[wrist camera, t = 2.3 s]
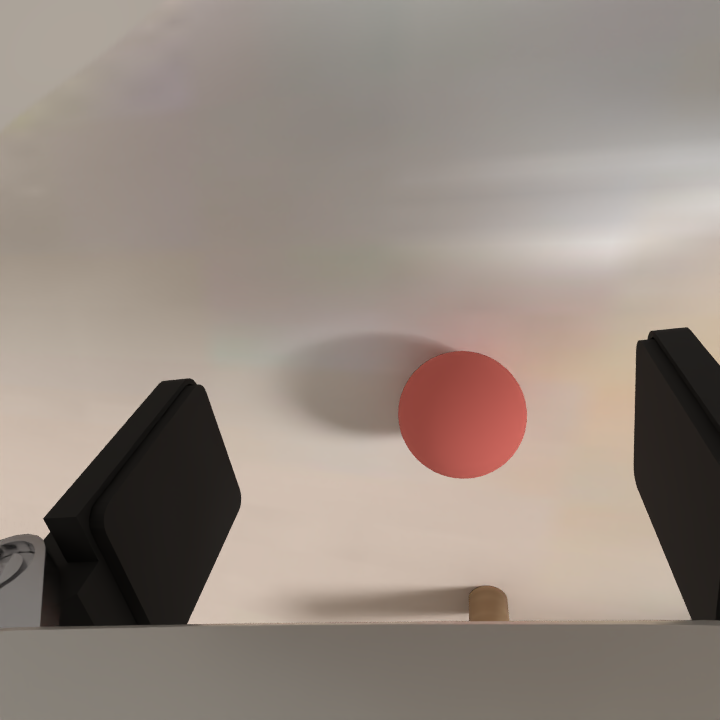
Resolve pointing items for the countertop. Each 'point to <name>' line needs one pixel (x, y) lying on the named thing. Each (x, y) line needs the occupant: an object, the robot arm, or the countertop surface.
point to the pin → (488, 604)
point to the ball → (462, 414)
